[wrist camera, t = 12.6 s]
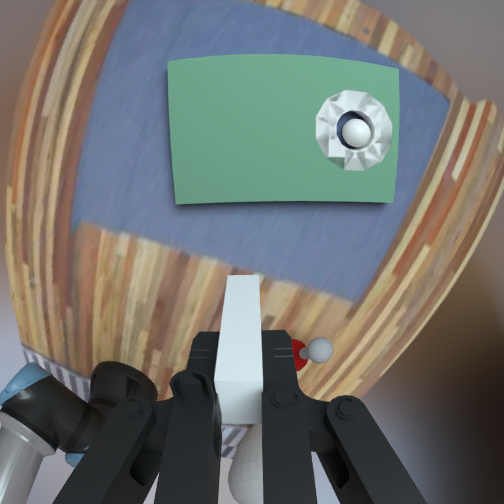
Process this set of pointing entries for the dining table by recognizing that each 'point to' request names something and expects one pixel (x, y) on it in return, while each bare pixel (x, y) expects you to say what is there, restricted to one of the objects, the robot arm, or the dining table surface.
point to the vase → (248, 468)
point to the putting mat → (280, 129)
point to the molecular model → (311, 351)
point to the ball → (356, 132)
